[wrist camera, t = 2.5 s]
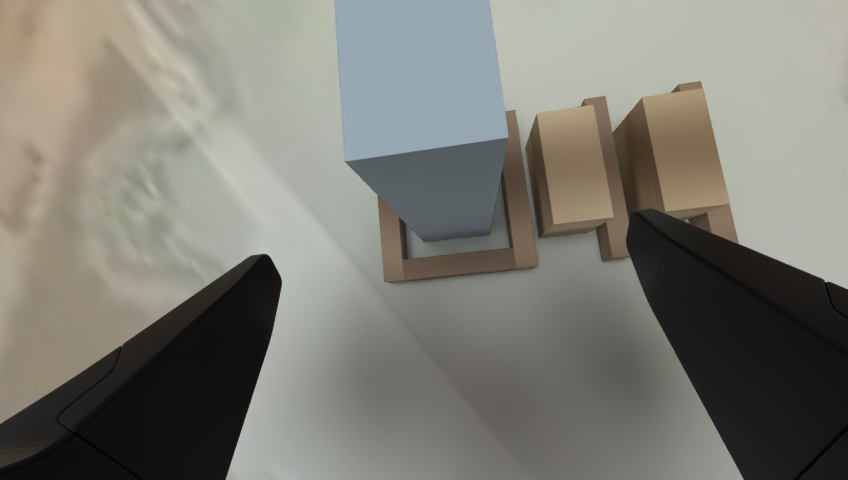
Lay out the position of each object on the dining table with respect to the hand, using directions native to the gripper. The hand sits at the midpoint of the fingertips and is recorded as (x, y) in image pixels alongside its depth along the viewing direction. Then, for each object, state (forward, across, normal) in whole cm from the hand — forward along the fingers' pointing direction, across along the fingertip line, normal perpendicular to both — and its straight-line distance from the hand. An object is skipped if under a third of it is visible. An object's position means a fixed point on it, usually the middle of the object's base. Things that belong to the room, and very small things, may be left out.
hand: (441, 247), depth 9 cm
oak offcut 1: (+10, -5, +5) cm, 13 cm away
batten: (+10, 0, +5) cm, 11 cm away
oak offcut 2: (+10, -10, +5) cm, 15 cm away
